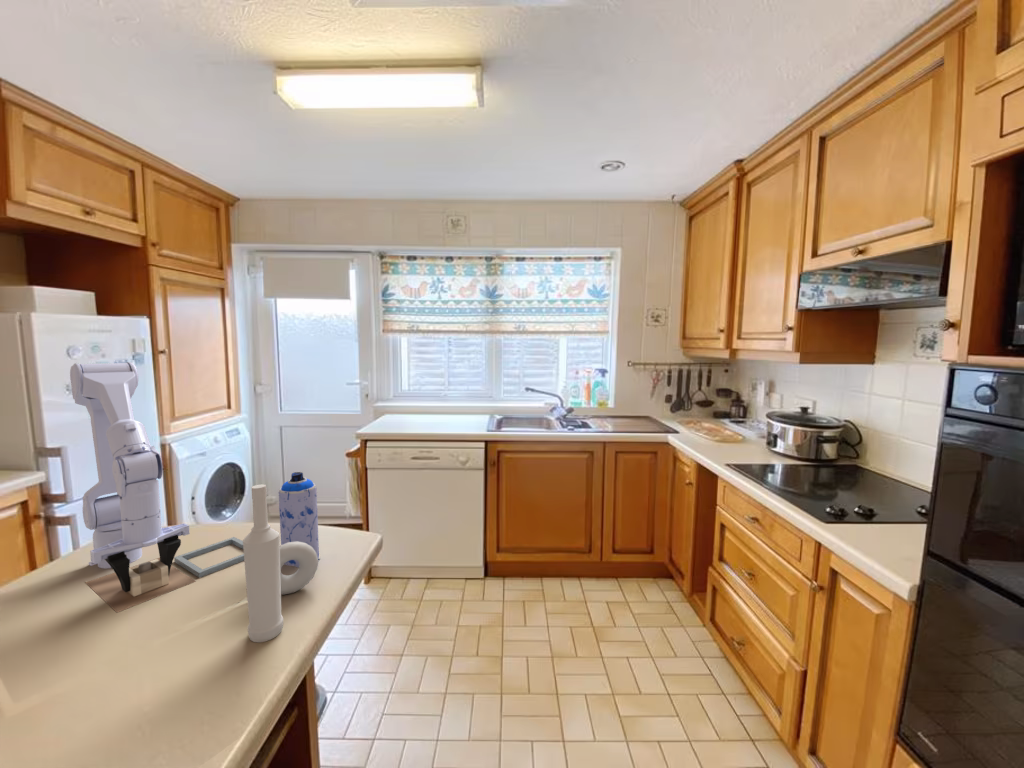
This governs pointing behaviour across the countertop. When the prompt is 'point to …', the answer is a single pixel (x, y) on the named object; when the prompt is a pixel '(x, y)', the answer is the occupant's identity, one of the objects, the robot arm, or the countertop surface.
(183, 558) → the tray
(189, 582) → the stake board
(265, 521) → the bottle
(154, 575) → the hollow wooden block
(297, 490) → the aerosol can
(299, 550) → the donut
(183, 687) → the countertop surface
